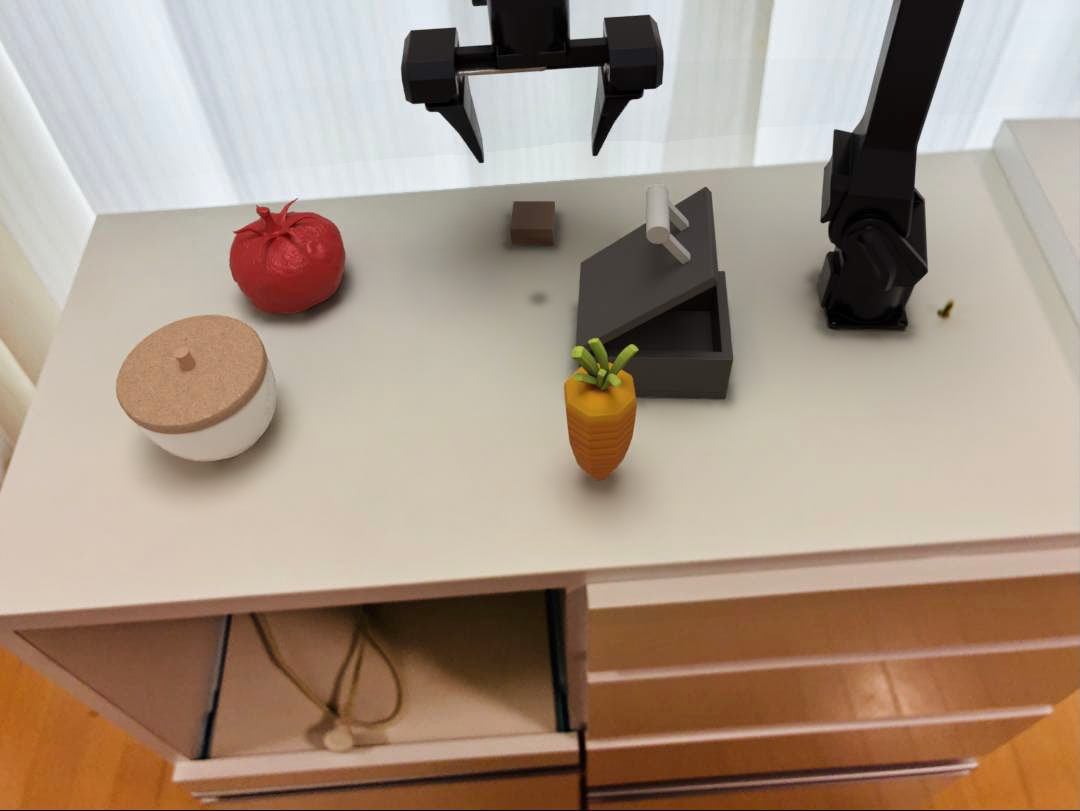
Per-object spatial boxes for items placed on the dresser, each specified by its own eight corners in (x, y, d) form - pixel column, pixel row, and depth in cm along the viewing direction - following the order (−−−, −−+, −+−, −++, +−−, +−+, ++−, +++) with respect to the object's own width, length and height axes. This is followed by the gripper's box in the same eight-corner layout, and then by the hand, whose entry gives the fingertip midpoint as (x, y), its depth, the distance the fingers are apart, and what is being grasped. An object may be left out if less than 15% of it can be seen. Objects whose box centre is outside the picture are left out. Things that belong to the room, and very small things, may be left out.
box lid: (712, 192, 61) (672, 148, 59) (720, 283, 56) (676, 239, 53) (586, 267, 68) (546, 231, 66) (581, 355, 63) (537, 320, 60)
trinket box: (294, 367, 70) (258, 288, 62) (293, 472, 63) (253, 397, 56) (166, 388, 69) (115, 310, 62) (152, 496, 63) (92, 424, 55)
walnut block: (555, 217, 80) (555, 200, 78) (553, 245, 77) (552, 229, 76) (514, 217, 80) (513, 200, 79) (511, 245, 78) (509, 228, 76)
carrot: (639, 458, 63) (651, 324, 51) (622, 513, 60) (629, 384, 48) (577, 443, 64) (573, 307, 52) (557, 496, 61) (548, 365, 49)
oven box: (718, 311, 71) (725, 270, 67) (725, 399, 66) (733, 359, 62) (584, 309, 72) (583, 269, 68) (579, 395, 67) (578, 357, 63)
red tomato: (359, 314, 73) (333, 233, 66) (246, 337, 72) (207, 258, 65) (348, 242, 79) (323, 160, 72) (244, 263, 78) (207, 182, 71)
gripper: (652, -103, 59) (642, 93, 72) (395, -85, 60) (429, 107, 72) (672, -30, 53) (657, 173, 65) (381, -10, 53) (421, 187, 66)
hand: (538, 156), depth 67 cm, fingers open, 9 cm apart
